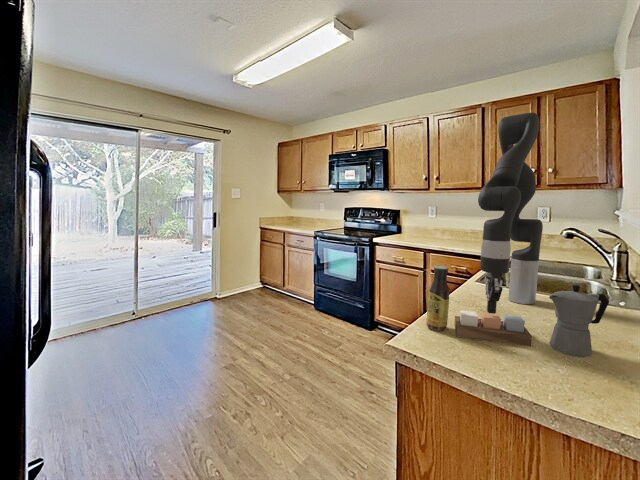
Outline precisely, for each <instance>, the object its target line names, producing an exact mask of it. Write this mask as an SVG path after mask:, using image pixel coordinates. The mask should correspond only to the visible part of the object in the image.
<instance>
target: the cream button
mask: <svg viewBox="0 0 640 480" xmlns="http://www.w3.org/2000/svg"><path fill="white" fill-rule="evenodd" d="M459 316H460V325H466V326H475V327H477V325H478V319H479V316H478V313H477V311H473V310H463V309H461V310H460V314H459Z"/></svg>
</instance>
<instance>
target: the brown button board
mask: <svg viewBox="0 0 640 480" xmlns="http://www.w3.org/2000/svg"><path fill="white" fill-rule="evenodd" d="M453 325H454V329H455V334H456V338H462V339H468V340H469V339H471V340H477V341H485V342H491V343H492V342H493V343H500V344H508V345H515V346H522V347H523V346H524V347H530V348H531V347H532V344H533V342H532V341H533V336H532V334H531V332H530V331H529V330H528V329H527V328H526V326H525V325H524V332H517V331H508V330H505V329H504V327H503V320H501V325H500V329H492V328H483V327H482V326H481V318H478V325H477V327H475V326H466V325H460V315H459V316H458V315H454V324H453Z"/></svg>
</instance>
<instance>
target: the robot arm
mask: <svg viewBox="0 0 640 480" xmlns="http://www.w3.org/2000/svg"><path fill="white" fill-rule="evenodd" d="M497 130H498V131H497V132H498V139H499V145H500V150H501V155H502V156H501V157H500V158H499V159H498V160H497V162H496V164H495V168H494V170H493V174H492V176H491V177H490V179H488V181H487V182H486V183H485V184H484V186H483V187H482V188H481V190H480V192H479V195H478V196H477V197H478V198H477V203H478V206H479V208H480V209H481V210H483V211H485V212H503V214H502V216H500V217H497V218H492V219H487V220H485V222H484V223H483V232H482V242H481V249H480V264H479V265H480V266H479V269H480V271H482V272H484V273H487V276H486V275H485V276H484V281H485V282H484V283H485V285H484V286H485V295H486V299H487V300H486V301H487V303H486V313H492V314H497V302H500V299H501V296H502V292H503V290H504V289H503V287H502V286H503V279H502V278H501V274H504V275H505V274H508V273H509V271H510V273H509V286H508V300H509V301H510V302H513V303H516V304H523V305H533V304H534V305H535V304H536V301H537V297H536V296H537V286H538V276H539V274H538V273H539V263H540V253H541V252H540V250H541V242H542V236H543V230H544V229H543V227H544V225H543V222H542V221H541V219H537V218H535V219H534V218H520V215H521V213H522V211H523V210H524V208H525V207H526V206H527V205H528V203H529V202H530V201H531V200H532V198H533V197H534V196H535V194H536V192H537V191H536V190H537V188H536V187H537V186H536V175H535V172H534V171H533V169H532V168H531V167H530V166H529V165H528V164H527V162H526V159H527V158H528V156H529V154H530V152H531V150H532V148H533V146H534V144H535V142H536V140H537V138H538V136H539V132H540V119H539V116H538V114H537V113H536V112H526V113H519V114H514V115H507V116H504V117H502V118H501V119H500V120H499V123H498V129H497ZM511 240H512V242H513V241H514V242H518V243H519V242H520V243H529V245H528V246H527V247H525V248H522V249H516V250H512V253H511Z"/></svg>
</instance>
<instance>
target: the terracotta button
mask: <svg viewBox="0 0 640 480" xmlns="http://www.w3.org/2000/svg"><path fill="white" fill-rule="evenodd" d="M480 319H481V326H482V327H483V328H492V329H500V325H501V321H502V318H501V317H500V315H499V314H498V313H495V314H492V313H488V312H481V318H480Z"/></svg>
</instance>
